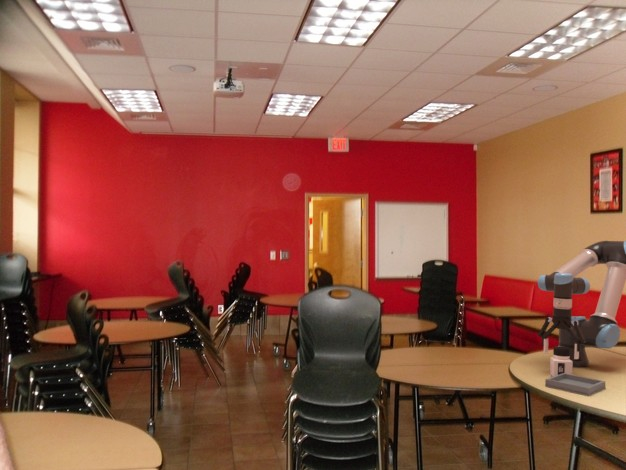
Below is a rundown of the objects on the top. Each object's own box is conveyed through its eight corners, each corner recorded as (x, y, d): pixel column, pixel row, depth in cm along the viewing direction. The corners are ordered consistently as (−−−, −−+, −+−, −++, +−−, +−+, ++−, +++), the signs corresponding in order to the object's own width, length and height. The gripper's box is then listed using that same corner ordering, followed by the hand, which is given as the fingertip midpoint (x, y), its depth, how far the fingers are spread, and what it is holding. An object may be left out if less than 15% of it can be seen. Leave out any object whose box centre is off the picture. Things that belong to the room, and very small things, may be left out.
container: (572, 379, 240) (573, 349, 240) (553, 377, 241) (554, 348, 241) (568, 374, 247) (568, 345, 247) (549, 373, 249) (550, 344, 249)
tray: (563, 379, 238) (563, 373, 238) (605, 388, 226) (605, 381, 226) (545, 386, 227) (545, 379, 227) (588, 396, 214) (588, 388, 214)
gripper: (531, 305, 251) (529, 351, 251) (588, 311, 233) (586, 362, 232) (538, 304, 256) (537, 350, 256) (595, 310, 238) (593, 360, 238)
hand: (560, 356), depth 244 cm, fingers open, 13 cm apart
